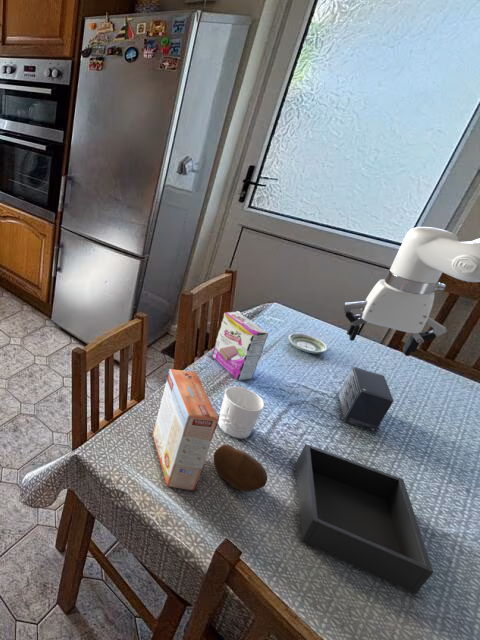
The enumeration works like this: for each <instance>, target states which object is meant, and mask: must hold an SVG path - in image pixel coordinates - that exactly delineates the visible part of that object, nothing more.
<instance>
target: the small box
mask: <svg viewBox="0 0 480 640" xmlns="http://www.w3.org/2000/svg"><path fill="white" fill-rule="evenodd" d="M338 399H339V400H338V401H339V404H340V405H339V406H340V410H341V415H342V419H343V421H344V422H345V423H348V424H352V425H354V426H357V427H361V428H363V429H367V430H370V431H373V432H377V430H378V428H379V426H380V425H381V423H382V421H383V419H384V418H385V416H386V414H387V413H388V411H389V409H390V408H391V406H392V405H393V403H394V402H395V401H394V397H393V395H392V393H391V390H390V386H389V385H388V382H387V379H386V377H385V375H383V374H379V373H377V372H374V371H373V372H372V371H370V370H365V369H362V368H360V367H357V366H356V367H355V366H353V367H352V369H351V372H350V374H349V375H348V378H347V380H346V382H345V384H344V385H343V388H341V391H340V393H339V394H338Z"/></svg>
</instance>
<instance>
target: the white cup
mask: <svg viewBox="0 0 480 640" xmlns="http://www.w3.org/2000/svg"><path fill="white" fill-rule="evenodd" d="M221 402H222V403H221V406H220V411H219V417H218V419H219V421H218V424H217V425H218V427H219V428H220V429H221V430H222V431H223V433H225V434H227V435H229V436H230V437H232V438H236V439H247V438H249V437H250V435H251V433H252V431H253V429H255V426H256V424H257V422H258V420H259V418H260V417H261V414H262V412H263V410H264V407H265V402H264V400H263V399H262V397H260V395H258V394H257V393H256V392H254V391H252V390H250V389H248V388H246V387H243V386H233V385H232V386H228V387H227V388H226V389H225V390H224V394H223V399H222V401H221Z"/></svg>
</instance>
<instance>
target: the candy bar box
mask: <svg viewBox="0 0 480 640" xmlns="http://www.w3.org/2000/svg"><path fill="white" fill-rule="evenodd" d="M268 336H269V332H267V330H265V329H264V328H262V327H261V326H260V325H258V324H257V323H255V322H254V321H253V320H251V319H250V318H249V317H247V316H246V315H245V314H243V313H242V312H240V311H239V310H237V311H236V310H235V311H230V312H229V311H227V312H224V313H223V317H222V320H221V323H220V326H219V330H218V333H217V337H216V340H215V343H214V347H213V350H212V352H211V353H212V354H211V357H212V358H213V359H214V360H215V361H216V362H217V363H218V364H220V365H221V366H222V367H223V368H224V369H225V370H226V371H227V372H228V373H229V374H230V375H232V377H234V378H235V379H236V380H237V381H243V380H251V379H253V378H254V375H255V372H256V370H257V367H258V364H259V361H260V358H261V355H262V352H263V349H264V346H265V344H266V342H267V338H268Z"/></svg>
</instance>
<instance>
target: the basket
mask: <svg viewBox="0 0 480 640" xmlns="http://www.w3.org/2000/svg"><path fill="white" fill-rule="evenodd" d="M295 470H296V471H295V472H296V473H295V474H296V485H297V486H296V487H297V502H298V512H299V526H300V527H299V528H300V540H301V542H303V543H304V544H307V545H309V546H311V547H313V548H316V549H317V550H320V551H322V552H323V553H326V554H328V555H331V556H334V557H335V558H337V559H339V560H341V561H344V562H346V563H348V564H350V565H353V566H355V567H356V568H359V569H361V570H363V571H365V572H367V573H369V574H372V575H374V576H377V577H379V578H380V579H383V580H384V581H387V582H389V583H392V584H394V585H396V586H398V587H400V588H402V589H405V590H407V591H409V592H411V593H413V594H415V595H416V594H417V593H418V592H419V591H420V589H421V588H422V587H423V586H424V585H425V583H426V582H427V581H428V580H429V579H430V577H431V576H432V575H433V574H434V570H433V567H432V564H431V561H430V558H429V554H428V551H427V549H426V545H425V542H424V538H423V536H422V533H421V529H420V527H419V523H418V520H417V517H416V514H415V511H414V508H413V505H412V502H411V498H410V495H409V492H408V489H407V486H406V484H405V481H404V479H403V478H401V477H398V476H395V475H393V474H390V473H387V472H385V471H382V470H378V469H377V468H373V467H371V466H369V465H365V464H362V463H360V462H357V461H355V460H351V459H349V458H346V457H343V456H341V455H338V454H335V453H333V452H329V451H327V450H325V449H321V448H319V447H315V446H312V445H310V444H307V443H305V444H304V445H303V448H302V450H301V452H300V454H299V456H298V457H297V460H296V463H295Z"/></svg>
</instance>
